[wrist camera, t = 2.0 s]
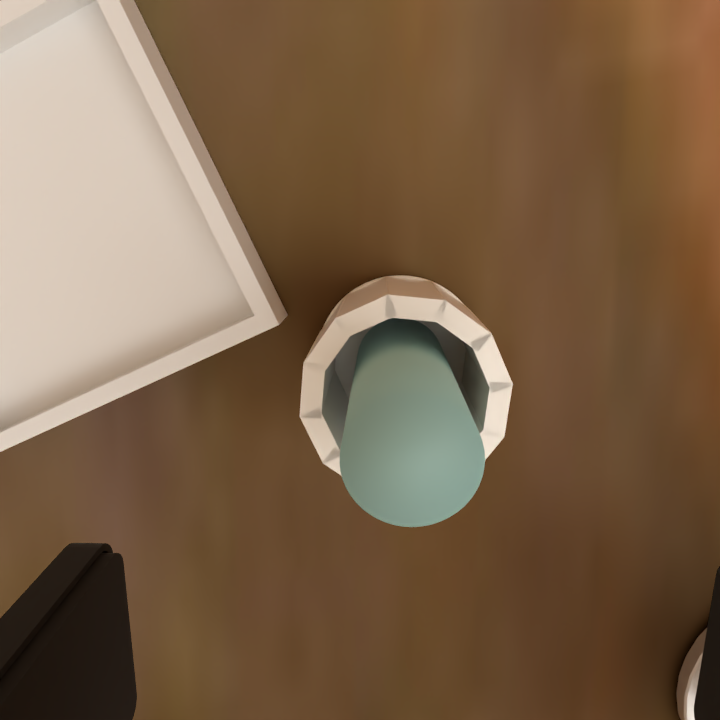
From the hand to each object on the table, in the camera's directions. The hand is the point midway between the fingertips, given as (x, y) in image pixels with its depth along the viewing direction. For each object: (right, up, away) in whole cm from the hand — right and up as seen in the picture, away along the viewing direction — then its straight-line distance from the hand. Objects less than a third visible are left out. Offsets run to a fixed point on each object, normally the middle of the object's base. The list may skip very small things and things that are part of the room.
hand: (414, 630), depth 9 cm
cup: (+1, +4, +19) cm, 20 cm away
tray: (-15, +10, +19) cm, 26 cm away
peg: (+1, +4, +19) cm, 19 cm away
